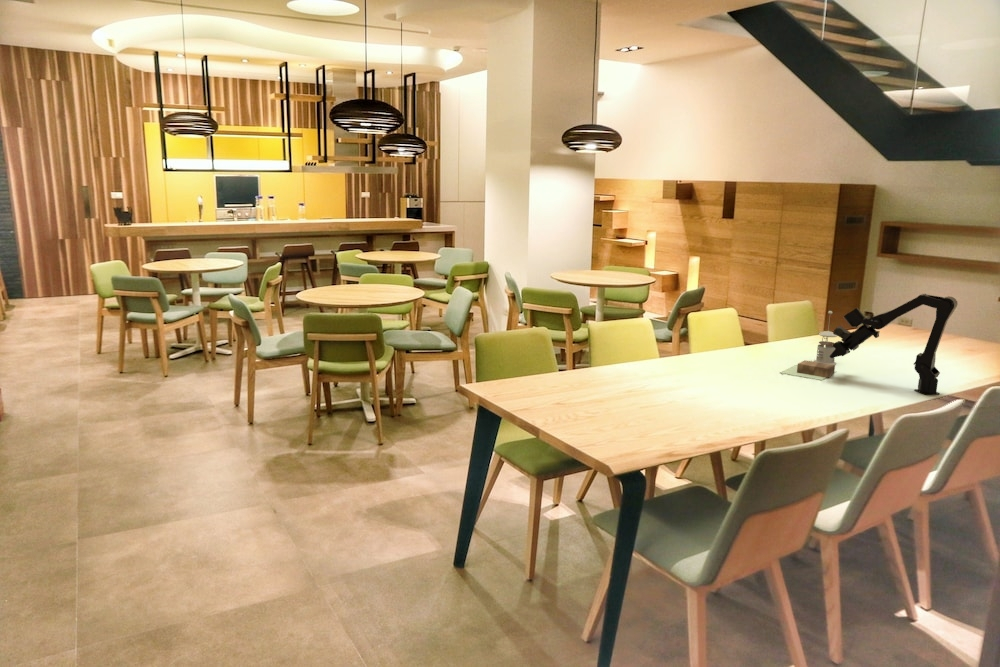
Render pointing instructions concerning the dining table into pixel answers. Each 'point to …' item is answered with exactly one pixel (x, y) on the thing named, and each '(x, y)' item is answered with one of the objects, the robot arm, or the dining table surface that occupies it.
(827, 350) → the french press
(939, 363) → the dining table surface
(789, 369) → the mat
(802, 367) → the slab
